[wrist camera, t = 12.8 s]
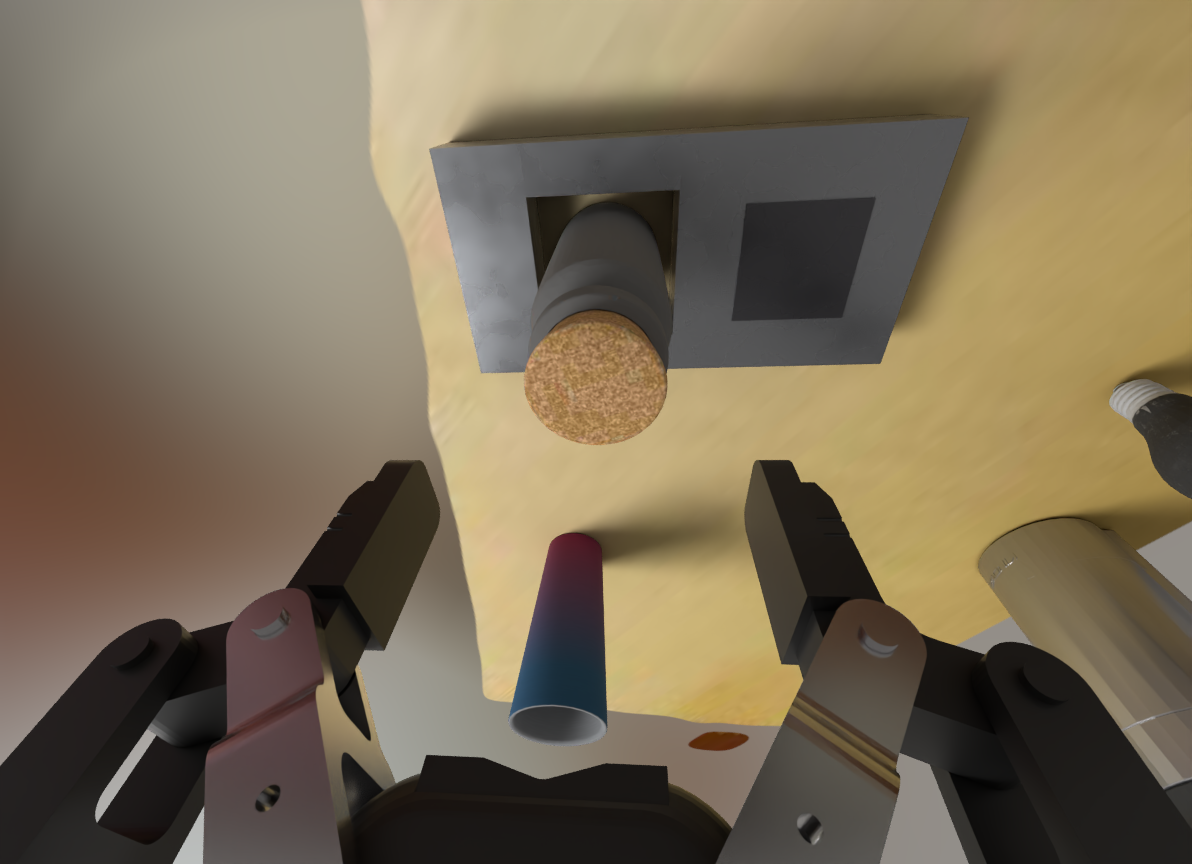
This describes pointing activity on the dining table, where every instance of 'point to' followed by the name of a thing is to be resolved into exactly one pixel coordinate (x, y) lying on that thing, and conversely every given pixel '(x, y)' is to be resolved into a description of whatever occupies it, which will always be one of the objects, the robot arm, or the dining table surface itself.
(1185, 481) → the light bulb
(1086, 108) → the dining table surface
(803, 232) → the panel
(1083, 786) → the robot arm
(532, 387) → the bottle
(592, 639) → the cup
